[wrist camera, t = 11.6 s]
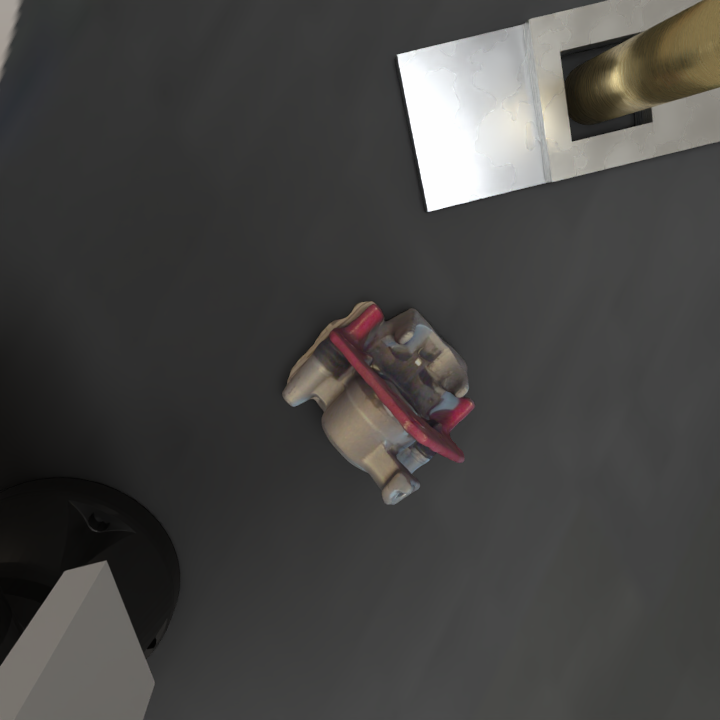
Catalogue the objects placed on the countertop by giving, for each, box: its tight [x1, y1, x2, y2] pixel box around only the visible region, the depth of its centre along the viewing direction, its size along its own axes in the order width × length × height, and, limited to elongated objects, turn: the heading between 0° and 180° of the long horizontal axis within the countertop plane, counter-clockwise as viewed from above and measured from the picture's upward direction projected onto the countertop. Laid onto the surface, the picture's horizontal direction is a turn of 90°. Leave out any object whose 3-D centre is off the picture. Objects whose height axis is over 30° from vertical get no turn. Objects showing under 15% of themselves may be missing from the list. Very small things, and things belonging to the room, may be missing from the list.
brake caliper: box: [282, 301, 475, 504], centre depth 37 cm, size 11×11×12 cm
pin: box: [564, 0, 720, 125], centre depth 30 cm, size 4×4×15 cm
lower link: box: [395, 25, 644, 212], centre depth 36 cm, size 16×9×1 cm, turn 103°
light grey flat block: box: [523, 0, 720, 183], centre depth 36 cm, size 16×9×2 cm, turn 103°
